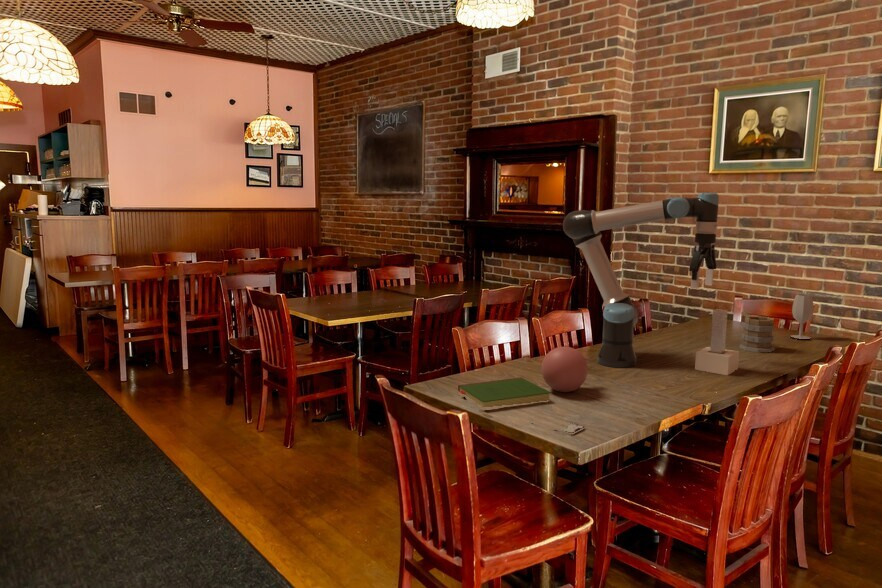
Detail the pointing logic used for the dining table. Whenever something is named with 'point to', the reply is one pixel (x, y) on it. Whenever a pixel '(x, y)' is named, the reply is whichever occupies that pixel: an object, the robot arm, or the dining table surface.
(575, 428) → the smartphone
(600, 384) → the dining table surface
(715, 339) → the steel bar
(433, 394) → the dining table surface
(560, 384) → the matte pink sphere
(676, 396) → the dining table surface
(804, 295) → the wineglass
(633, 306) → the robot arm
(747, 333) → the tankard
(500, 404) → the hardcover book
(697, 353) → the well block
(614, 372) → the dining table surface
